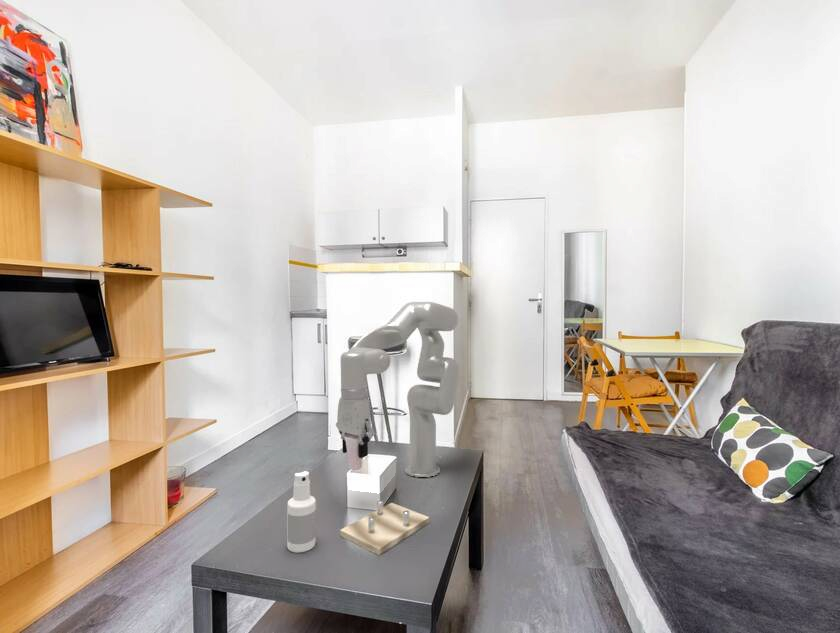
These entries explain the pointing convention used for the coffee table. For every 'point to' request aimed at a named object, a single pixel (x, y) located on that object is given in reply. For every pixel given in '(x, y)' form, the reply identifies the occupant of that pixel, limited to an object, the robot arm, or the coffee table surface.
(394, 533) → the pin board
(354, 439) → the smoothie
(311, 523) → the spray bottle
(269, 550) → the coffee table surface
